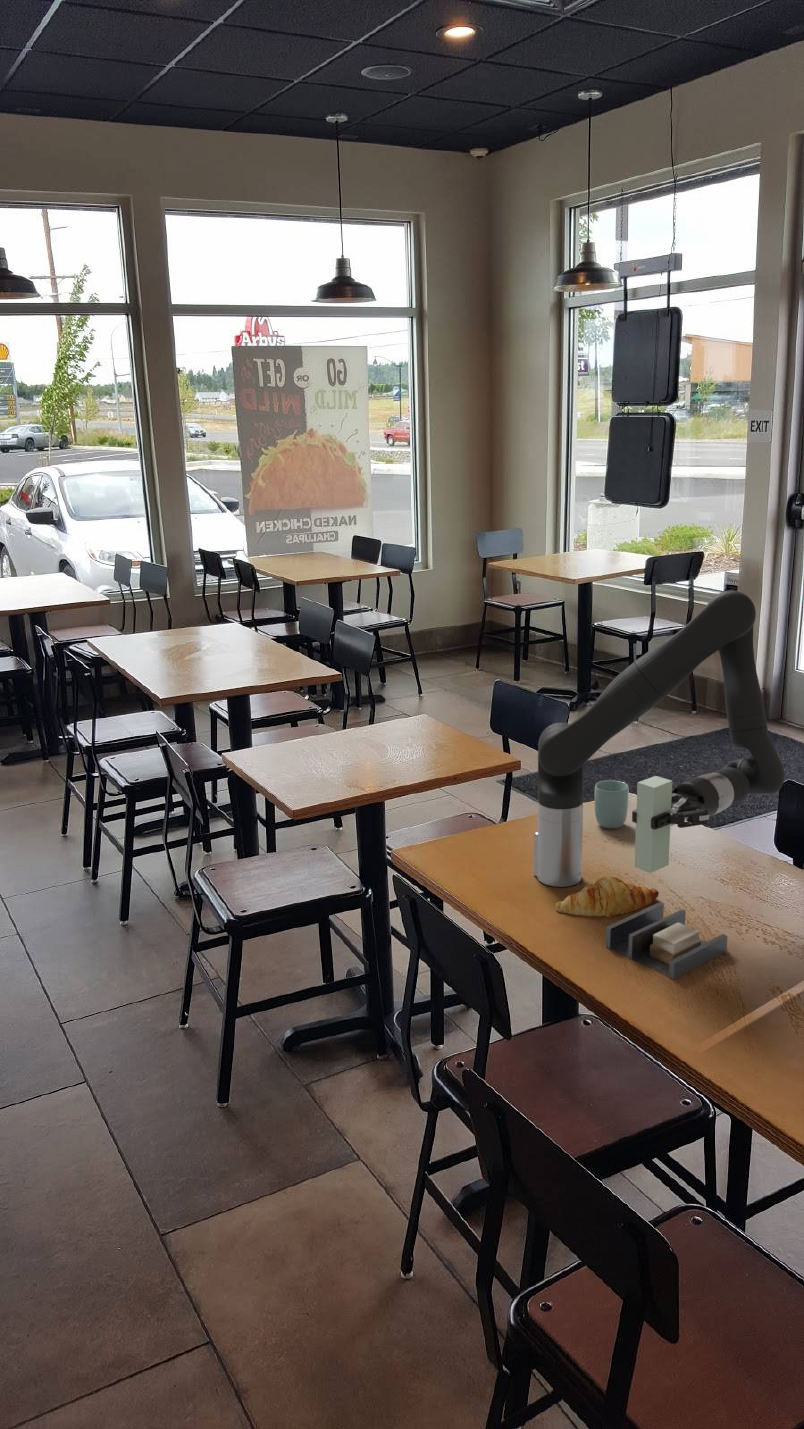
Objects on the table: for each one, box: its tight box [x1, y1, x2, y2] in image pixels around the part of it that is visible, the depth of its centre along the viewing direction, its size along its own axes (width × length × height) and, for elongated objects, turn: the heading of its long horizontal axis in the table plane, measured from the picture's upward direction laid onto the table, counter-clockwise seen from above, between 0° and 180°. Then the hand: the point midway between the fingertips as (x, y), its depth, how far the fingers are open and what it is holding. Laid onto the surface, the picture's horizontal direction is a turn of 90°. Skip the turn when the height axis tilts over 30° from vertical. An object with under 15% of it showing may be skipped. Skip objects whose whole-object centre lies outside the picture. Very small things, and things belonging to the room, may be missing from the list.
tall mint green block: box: [634, 775, 673, 874], centre depth 190 cm, size 4×5×16 cm
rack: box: [605, 901, 728, 980], centre depth 195 cm, size 15×15×6 cm
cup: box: [594, 779, 630, 830], centre depth 253 cm, size 8×8×10 cm
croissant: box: [554, 876, 660, 918], centre depth 212 cm, size 21×10×8 cm, turn 102°
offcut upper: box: [653, 923, 700, 954], centre depth 193 cm, size 5×7×2 cm, turn 128°
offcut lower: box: [650, 939, 701, 964], centre depth 193 cm, size 5×8×2 cm, turn 128°
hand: (643, 820), depth 188 cm, fingers closed on tall mint green block, 3 cm apart
